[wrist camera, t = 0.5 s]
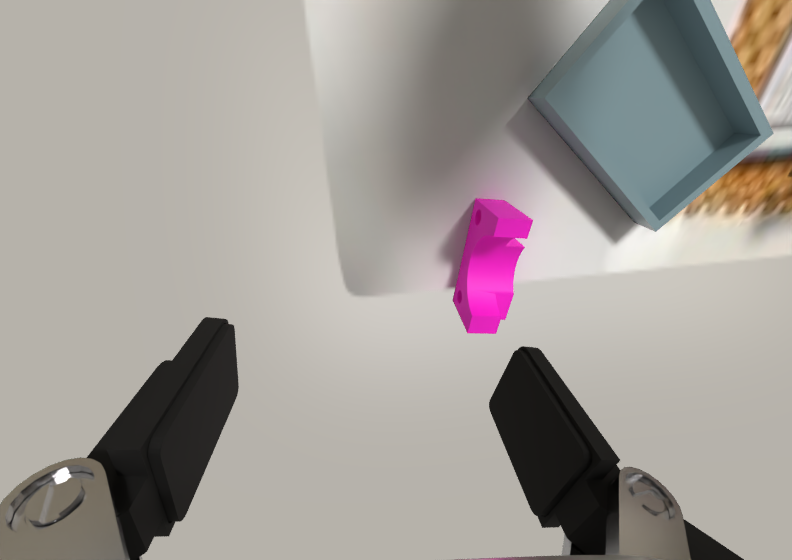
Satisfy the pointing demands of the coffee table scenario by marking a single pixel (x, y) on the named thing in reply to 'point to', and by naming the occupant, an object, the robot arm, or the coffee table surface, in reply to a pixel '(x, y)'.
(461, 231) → the coffee table surface
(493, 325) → the toy block
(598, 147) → the slate tray
